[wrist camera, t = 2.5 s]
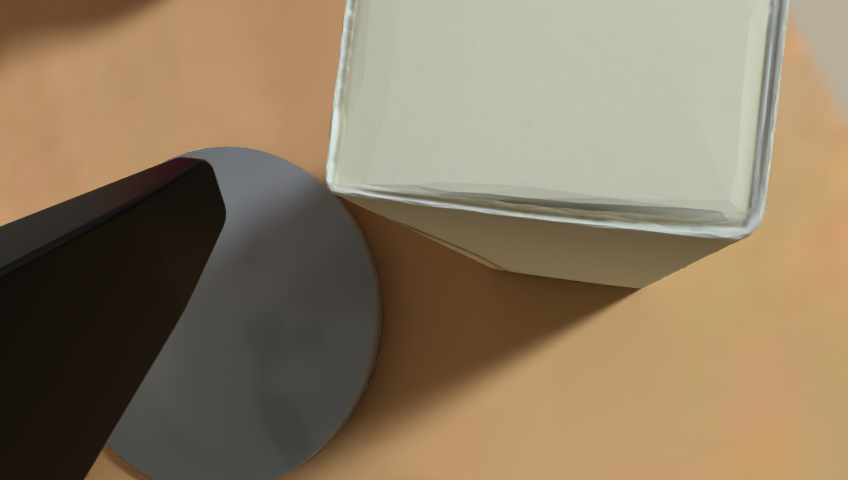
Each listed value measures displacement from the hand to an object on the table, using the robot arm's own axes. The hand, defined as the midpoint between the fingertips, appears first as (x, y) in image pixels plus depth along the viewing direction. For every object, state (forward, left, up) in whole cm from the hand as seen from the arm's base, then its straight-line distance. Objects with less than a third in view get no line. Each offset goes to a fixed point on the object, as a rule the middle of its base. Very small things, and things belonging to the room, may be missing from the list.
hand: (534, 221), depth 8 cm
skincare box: (+3, +1, -10) cm, 11 cm away
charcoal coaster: (-5, +9, -10) cm, 14 cm away
